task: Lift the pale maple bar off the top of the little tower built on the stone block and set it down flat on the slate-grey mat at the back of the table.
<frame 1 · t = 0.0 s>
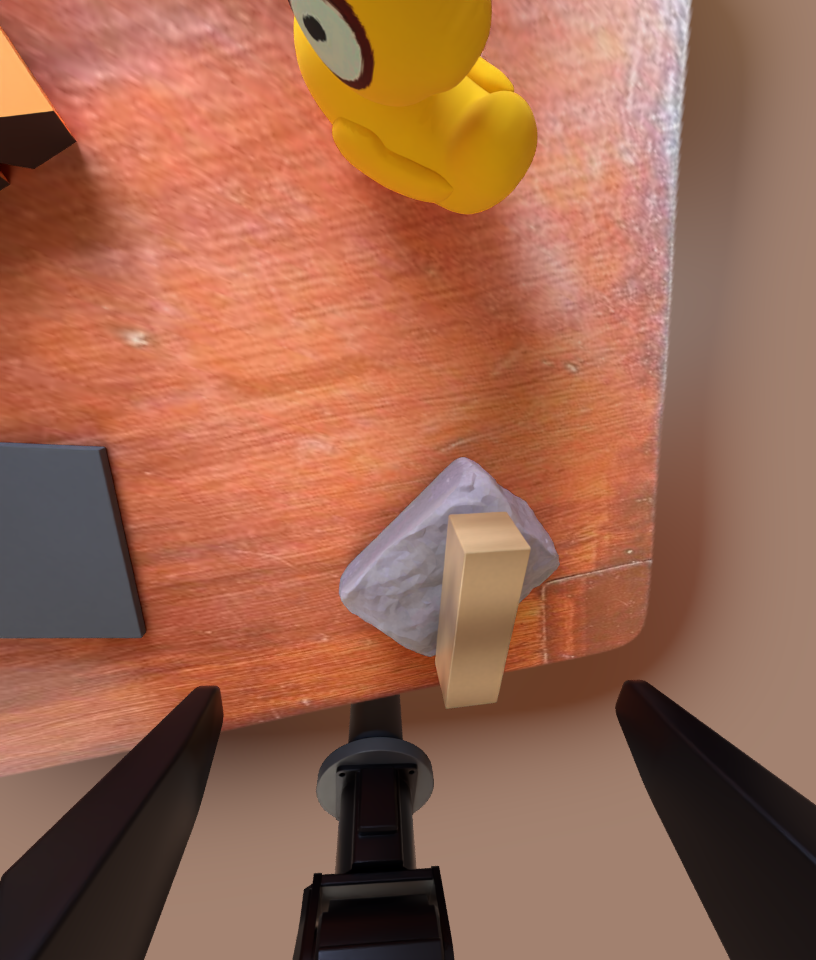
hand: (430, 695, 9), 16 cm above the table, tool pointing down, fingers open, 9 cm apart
stone block: (449, 553, 26), on the table, touching maple bar
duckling: (394, 128, 18), on the table
grey mat: (39, 546, 23), on the table
maple bar: (466, 594, 22), point 4 cm above the table, tilted 8°, touching stone block
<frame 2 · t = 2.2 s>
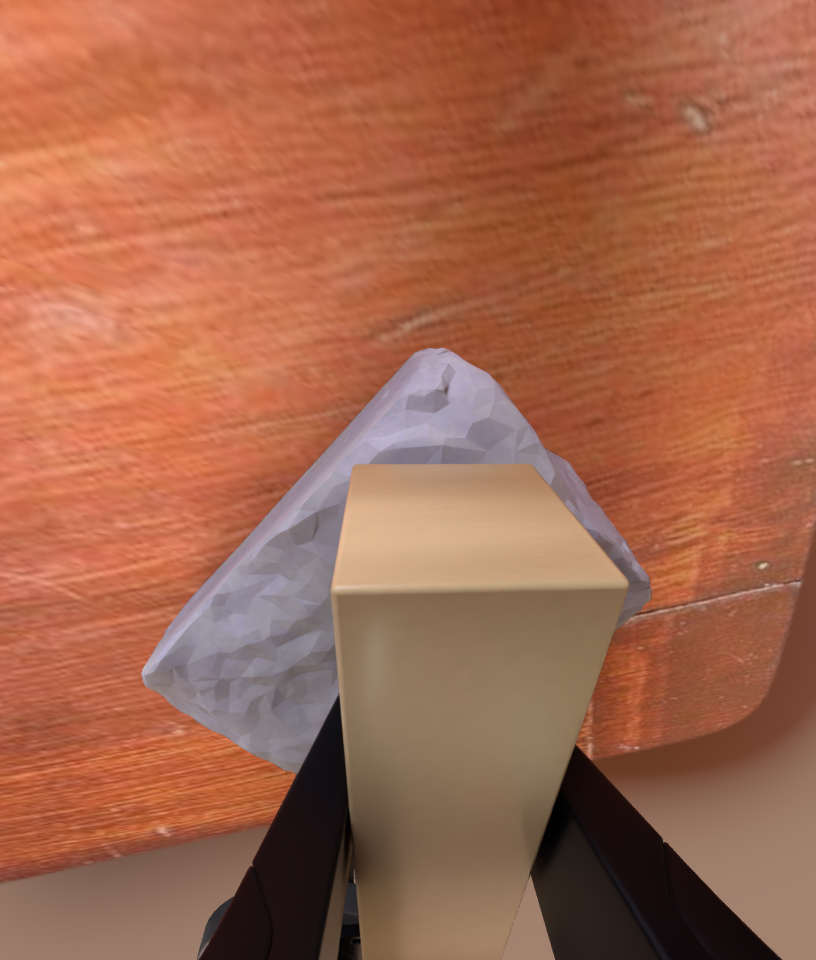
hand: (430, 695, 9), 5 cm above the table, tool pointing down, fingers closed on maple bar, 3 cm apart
stone block: (410, 570, 13), on the table, touching maple bar
maple bar: (428, 684, 9), point 4 cm above the table, touching gripper, stone block
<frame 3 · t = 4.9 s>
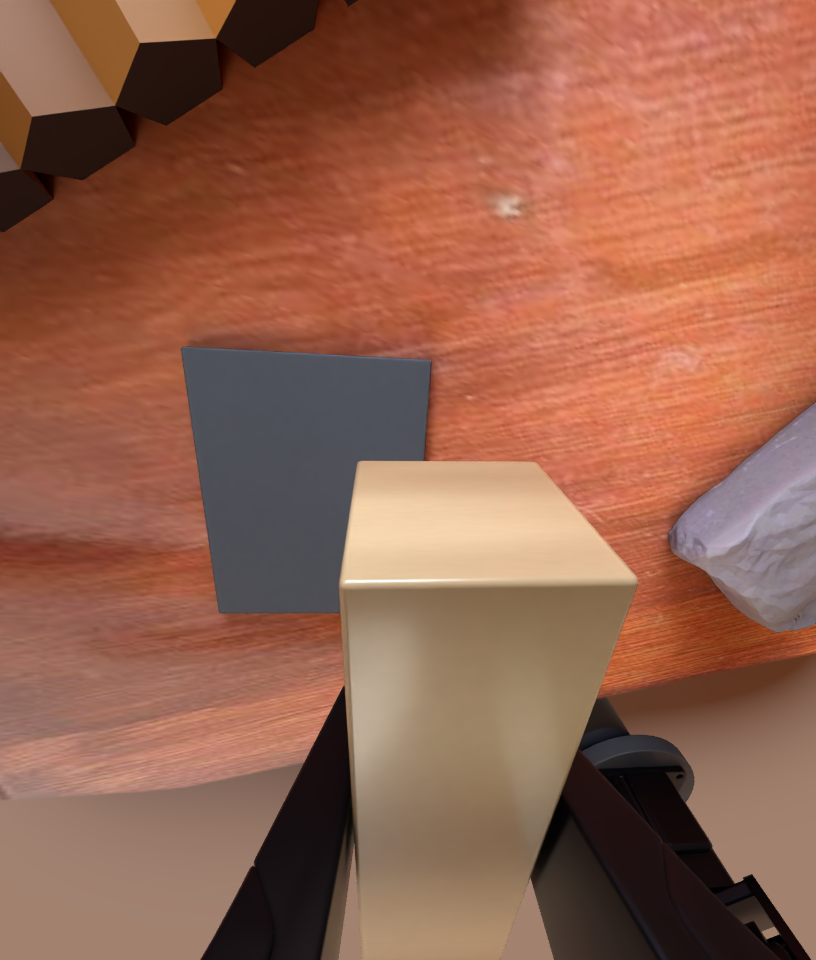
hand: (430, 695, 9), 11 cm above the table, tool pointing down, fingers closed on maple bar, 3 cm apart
stone block: (786, 505, 21), on the table
grey mat: (315, 495, 19), on the table
maple bar: (430, 683, 9), point 11 cm above the table, touching gripper
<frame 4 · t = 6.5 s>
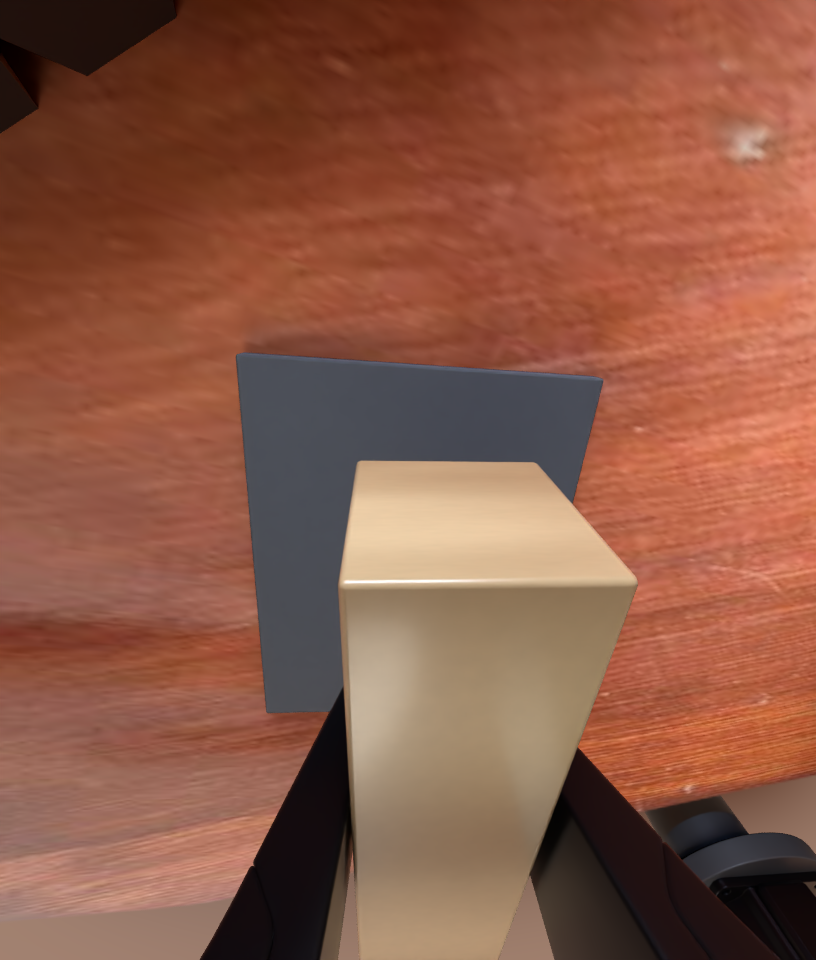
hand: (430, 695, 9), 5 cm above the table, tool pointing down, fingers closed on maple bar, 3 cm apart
grey mat: (409, 560, 13), on the table
maple bar: (428, 683, 9), point 5 cm above the table, touching gripper
when the fingers open (1 cm above the table, at t = 7.8 s): maple bar stays where it is, resting on grey mat.
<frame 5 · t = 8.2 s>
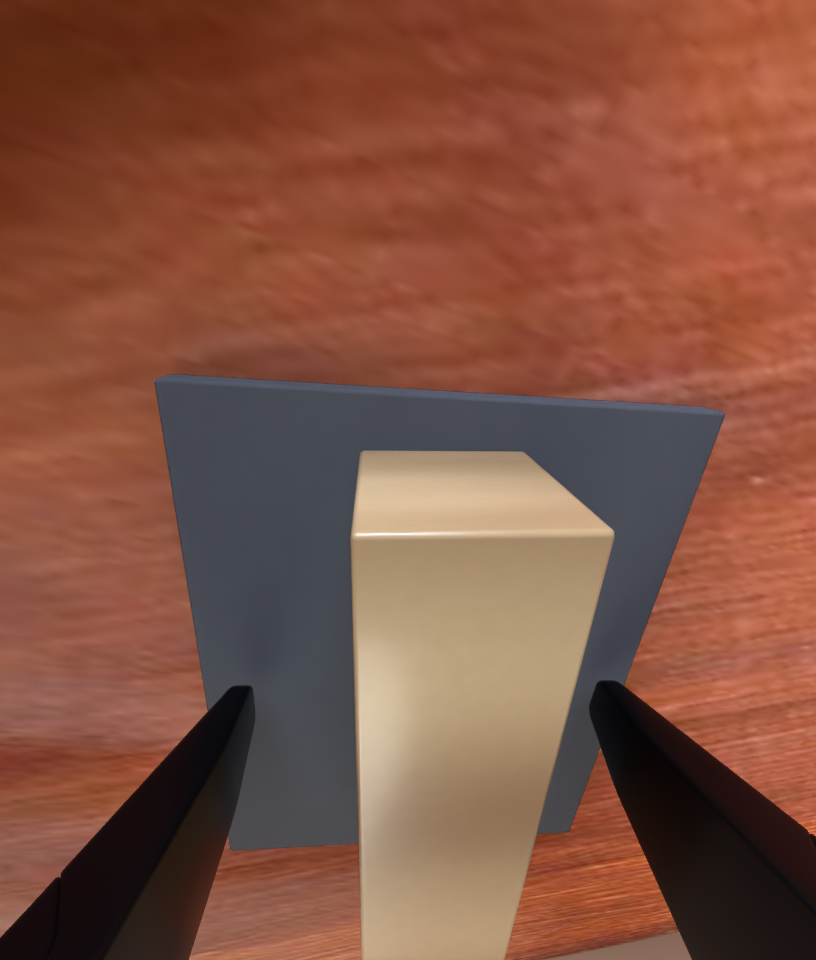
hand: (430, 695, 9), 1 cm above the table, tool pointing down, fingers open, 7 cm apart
grey mat: (423, 657, 10), on the table
maple bar: (428, 676, 9), point 1 cm above the table, touching grey mat
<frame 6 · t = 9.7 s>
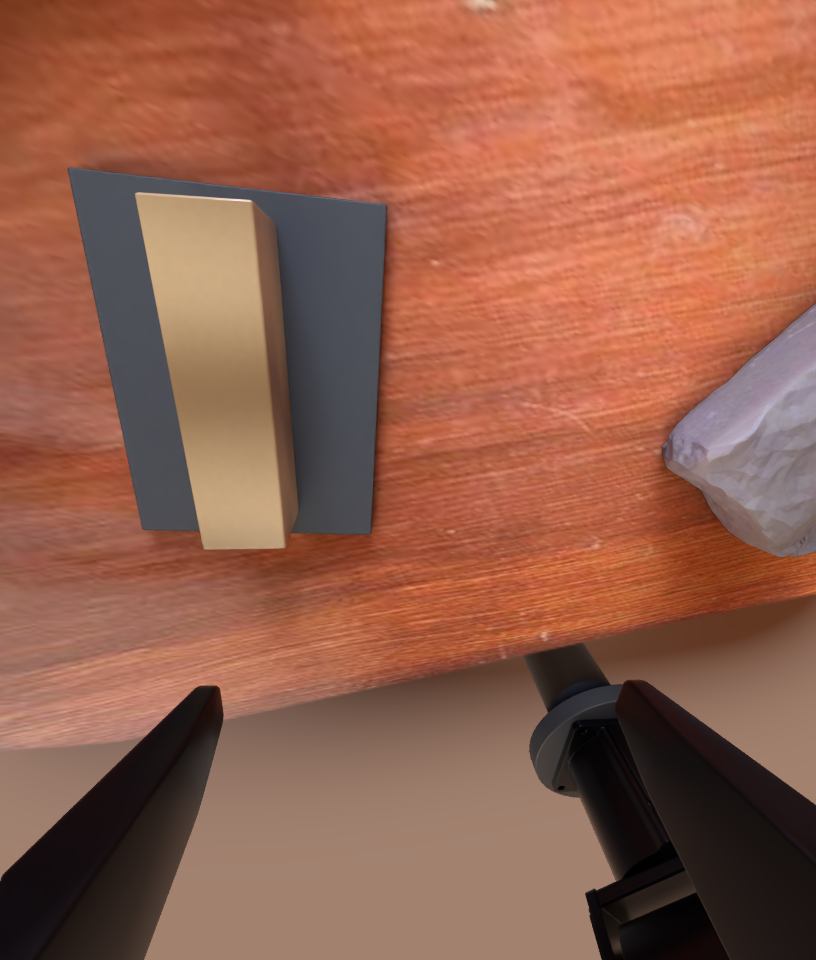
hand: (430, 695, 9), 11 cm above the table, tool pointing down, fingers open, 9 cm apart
stone block: (794, 418, 19), on the table
grey mat: (253, 385, 16), on the table
maple bar: (249, 386, 15), point 1 cm above the table, touching grey mat
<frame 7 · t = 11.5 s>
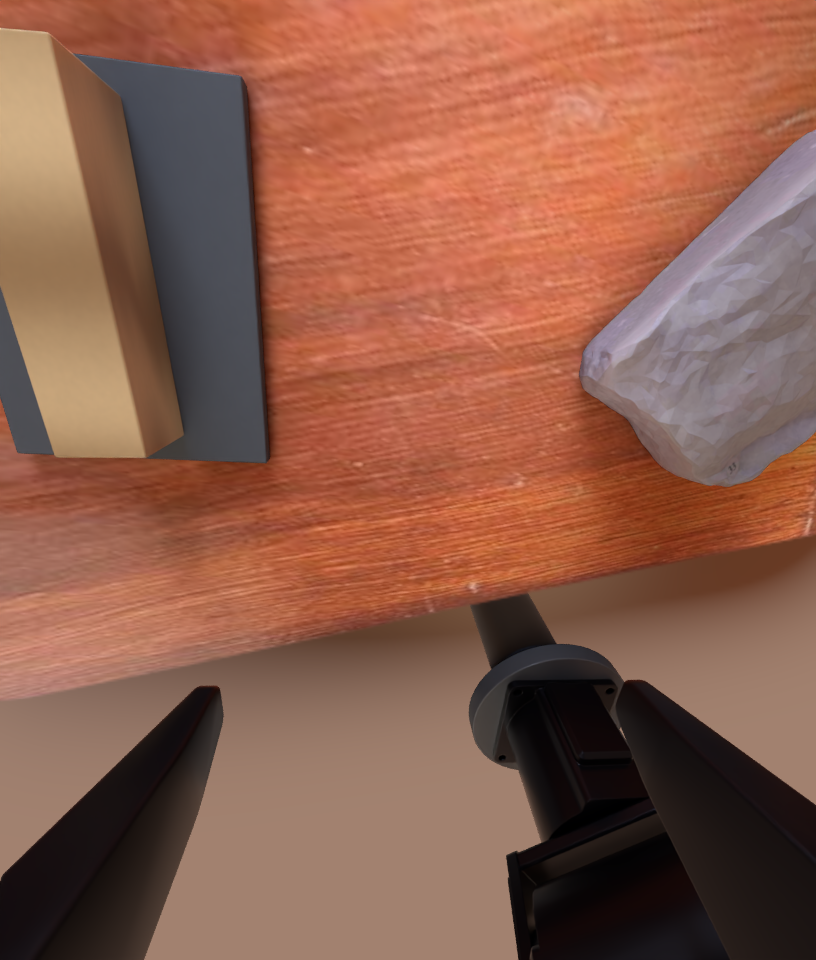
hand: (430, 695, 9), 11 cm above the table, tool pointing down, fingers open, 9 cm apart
stone block: (725, 339, 17), on the table
grey mat: (123, 290, 15), on the table
maple bar: (114, 288, 14), point 1 cm above the table, touching grey mat
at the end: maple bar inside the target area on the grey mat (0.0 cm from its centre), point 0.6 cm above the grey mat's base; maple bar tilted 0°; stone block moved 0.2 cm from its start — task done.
